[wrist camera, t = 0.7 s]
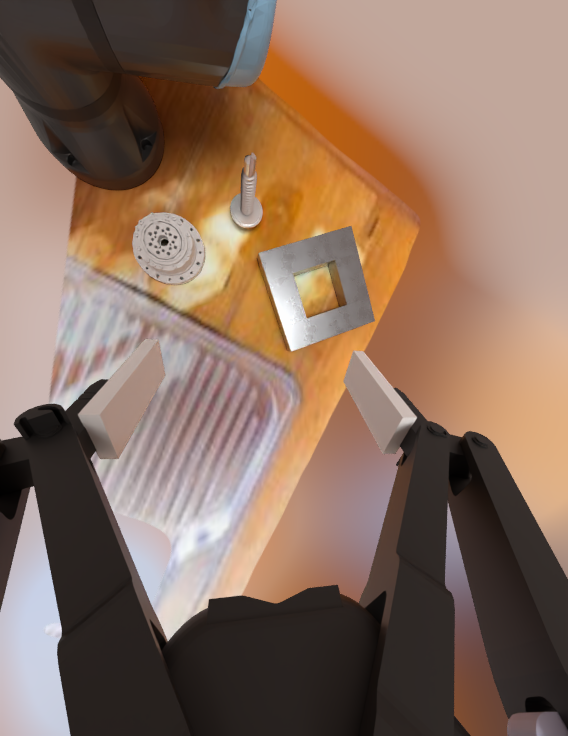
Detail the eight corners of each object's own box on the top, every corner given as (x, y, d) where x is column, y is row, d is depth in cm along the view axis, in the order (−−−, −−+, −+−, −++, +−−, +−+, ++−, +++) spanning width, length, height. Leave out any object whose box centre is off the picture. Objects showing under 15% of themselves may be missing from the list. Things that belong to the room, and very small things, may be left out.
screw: (227, 227, 36) (234, 195, 36) (257, 237, 38) (264, 207, 37) (222, 170, 24) (232, 120, 23) (267, 188, 25) (278, 141, 24)
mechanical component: (190, 296, 37) (215, 239, 37) (184, 291, 33) (212, 226, 32) (125, 265, 35) (151, 203, 34) (110, 255, 30) (139, 185, 30)
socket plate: (256, 259, 38) (258, 253, 35) (343, 233, 40) (351, 225, 37) (287, 350, 41) (291, 351, 38) (365, 321, 43) (374, 321, 40)
